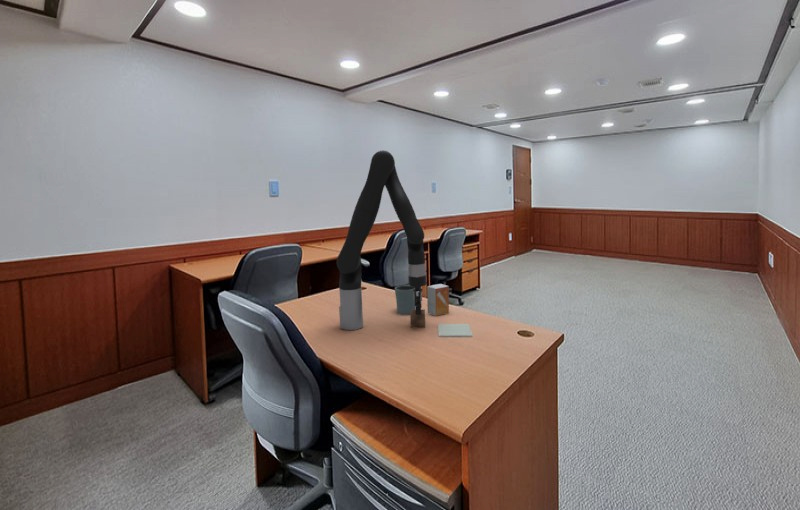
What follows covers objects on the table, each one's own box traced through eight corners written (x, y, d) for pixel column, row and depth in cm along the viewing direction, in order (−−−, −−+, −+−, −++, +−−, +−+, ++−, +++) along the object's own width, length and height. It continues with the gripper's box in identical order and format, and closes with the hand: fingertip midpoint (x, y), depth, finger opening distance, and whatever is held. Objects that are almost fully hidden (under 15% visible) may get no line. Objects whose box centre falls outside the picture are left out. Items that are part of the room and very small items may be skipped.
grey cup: (402, 316, 173) (401, 291, 172) (391, 311, 182) (390, 286, 180) (420, 312, 178) (420, 287, 177) (409, 307, 187) (408, 283, 185)
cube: (410, 327, 159) (410, 314, 158) (411, 322, 165) (411, 309, 164) (424, 327, 159) (424, 313, 158) (425, 322, 165) (424, 309, 164)
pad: (438, 336, 148) (438, 335, 148) (438, 325, 161) (437, 324, 161) (472, 336, 147) (472, 335, 147) (468, 325, 160) (468, 323, 160)
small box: (435, 316, 172) (435, 288, 170) (427, 313, 177) (426, 286, 175) (449, 313, 176) (449, 285, 174) (440, 309, 182) (440, 283, 180)
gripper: (409, 270, 165) (410, 306, 168) (407, 278, 151) (409, 317, 154) (426, 270, 165) (427, 306, 167) (425, 277, 151) (427, 316, 153)
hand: (418, 311), depth 161 cm, fingers open, 8 cm apart
